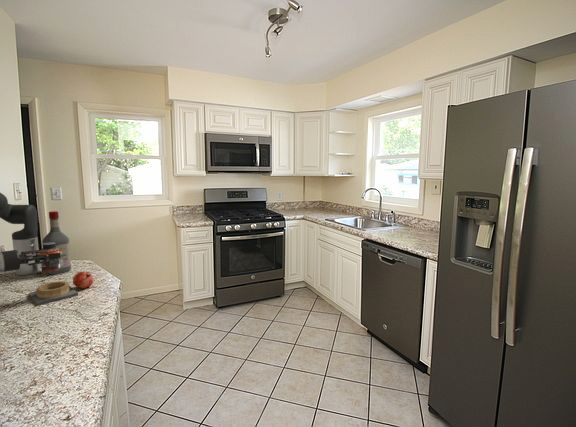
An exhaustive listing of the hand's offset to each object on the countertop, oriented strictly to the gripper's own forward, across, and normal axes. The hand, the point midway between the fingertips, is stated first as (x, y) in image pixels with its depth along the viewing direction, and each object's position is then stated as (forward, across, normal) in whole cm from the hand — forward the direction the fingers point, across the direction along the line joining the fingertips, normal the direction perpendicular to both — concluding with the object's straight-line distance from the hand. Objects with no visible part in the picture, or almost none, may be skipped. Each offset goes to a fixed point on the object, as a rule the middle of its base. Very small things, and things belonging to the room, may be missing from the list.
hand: (57, 253), depth 122 cm
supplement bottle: (-2, 0, +7) cm, 7 cm away
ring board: (-2, 0, +17) cm, 17 cm away
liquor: (+7, +32, +17) cm, 37 cm away
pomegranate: (+8, +1, +17) cm, 19 cm away
